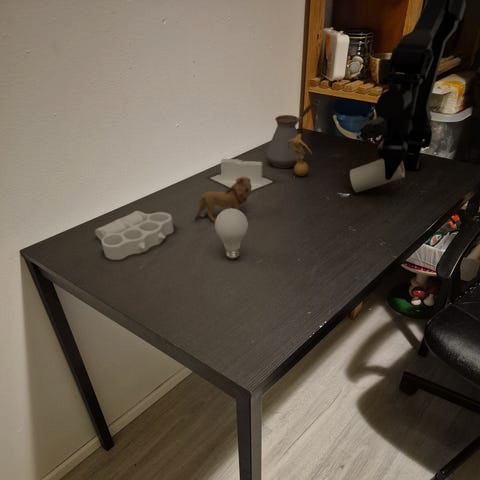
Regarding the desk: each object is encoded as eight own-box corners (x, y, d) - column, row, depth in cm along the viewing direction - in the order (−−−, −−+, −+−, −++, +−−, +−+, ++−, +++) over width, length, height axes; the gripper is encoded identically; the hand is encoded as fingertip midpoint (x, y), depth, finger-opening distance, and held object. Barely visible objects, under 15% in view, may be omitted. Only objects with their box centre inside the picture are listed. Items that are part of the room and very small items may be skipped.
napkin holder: (273, 181, 118) (274, 161, 114) (243, 194, 113) (243, 173, 109) (238, 167, 127) (237, 147, 123) (209, 178, 121) (207, 158, 117)
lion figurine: (247, 206, 107) (247, 171, 101) (255, 215, 103) (255, 180, 97) (192, 217, 104) (188, 182, 98) (197, 227, 100) (194, 191, 94)
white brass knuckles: (147, 215, 105) (186, 233, 98) (84, 244, 95) (123, 268, 88) (144, 202, 103) (185, 220, 96) (80, 231, 93) (120, 254, 86)
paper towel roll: (359, 187, 114) (352, 166, 111) (405, 171, 107) (399, 149, 104) (355, 196, 109) (348, 175, 107) (403, 181, 103) (396, 158, 100)
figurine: (316, 177, 119) (320, 133, 112) (304, 184, 116) (307, 139, 108) (293, 169, 124) (295, 127, 116) (280, 176, 121) (282, 132, 113)
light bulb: (252, 252, 91) (252, 204, 84) (242, 268, 86) (241, 220, 79) (223, 247, 93) (220, 200, 86) (212, 263, 88) (208, 215, 81)
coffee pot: (288, 173, 122) (291, 118, 112) (258, 164, 128) (258, 111, 118) (328, 152, 133) (334, 100, 124) (299, 144, 139) (302, 95, 129)
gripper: (370, 95, 104) (362, 158, 115) (358, 117, 92) (350, 186, 102) (418, 96, 101) (405, 161, 111) (412, 120, 88) (398, 191, 98)
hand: (389, 174), depth 106 cm, fingers closed on paper towel roll, 6 cm apart
